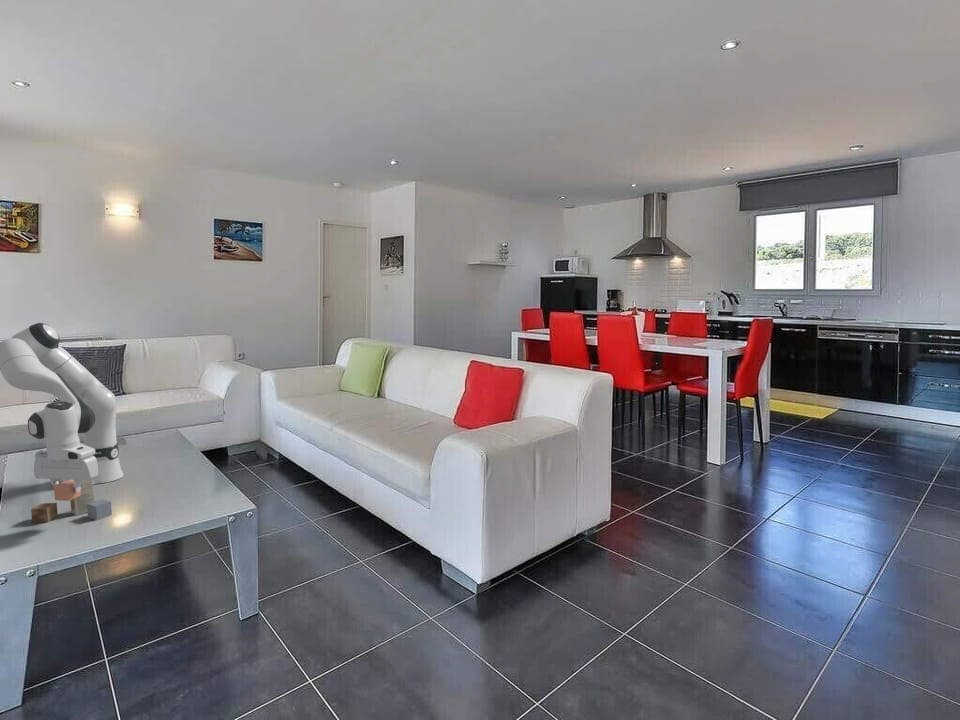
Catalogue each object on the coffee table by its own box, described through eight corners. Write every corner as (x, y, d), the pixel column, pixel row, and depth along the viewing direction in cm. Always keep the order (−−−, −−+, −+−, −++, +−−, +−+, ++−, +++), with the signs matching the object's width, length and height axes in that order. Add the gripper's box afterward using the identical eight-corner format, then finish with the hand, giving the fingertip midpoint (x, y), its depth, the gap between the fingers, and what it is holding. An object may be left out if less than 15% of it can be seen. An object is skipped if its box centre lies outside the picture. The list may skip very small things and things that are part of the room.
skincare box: (90, 507, 200) (88, 474, 199) (96, 510, 198) (93, 477, 196) (70, 513, 195) (67, 479, 193) (75, 515, 192) (72, 482, 191)
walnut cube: (32, 523, 186) (31, 508, 186) (42, 517, 191) (41, 503, 191) (48, 522, 187) (47, 508, 186) (57, 516, 192) (56, 502, 191)
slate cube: (87, 517, 191) (86, 503, 190) (102, 512, 196) (101, 499, 195) (97, 520, 189) (96, 506, 188) (111, 515, 194) (110, 501, 193)
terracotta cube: (55, 500, 182) (53, 485, 181) (67, 494, 187) (66, 480, 186) (69, 500, 182) (67, 486, 181) (81, 495, 186) (80, 480, 186)
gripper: (26, 453, 180) (30, 493, 182) (84, 454, 178) (88, 496, 180) (43, 447, 186) (47, 487, 188) (99, 449, 184) (103, 489, 186)
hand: (67, 491), depth 184 cm, fingers closed on terracotta cube, 5 cm apart
